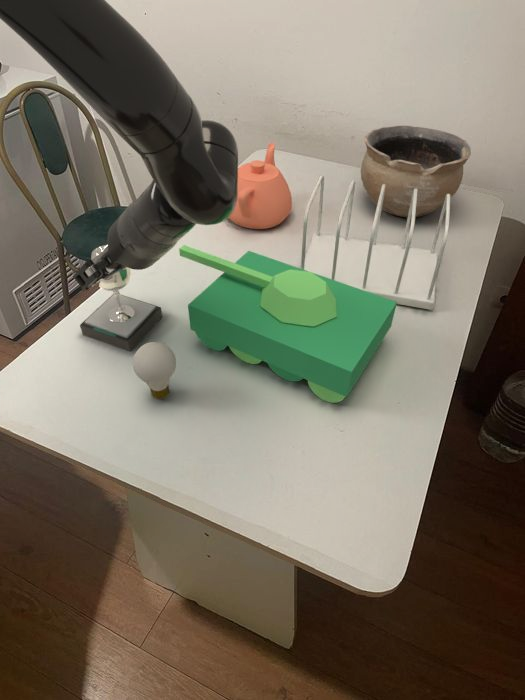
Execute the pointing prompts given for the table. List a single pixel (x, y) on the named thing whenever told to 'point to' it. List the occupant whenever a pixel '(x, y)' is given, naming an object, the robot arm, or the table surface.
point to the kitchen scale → (125, 332)
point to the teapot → (261, 194)
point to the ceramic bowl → (413, 167)
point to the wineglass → (116, 291)
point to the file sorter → (376, 256)
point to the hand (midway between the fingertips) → (105, 271)
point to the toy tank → (290, 321)
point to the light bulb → (155, 367)
